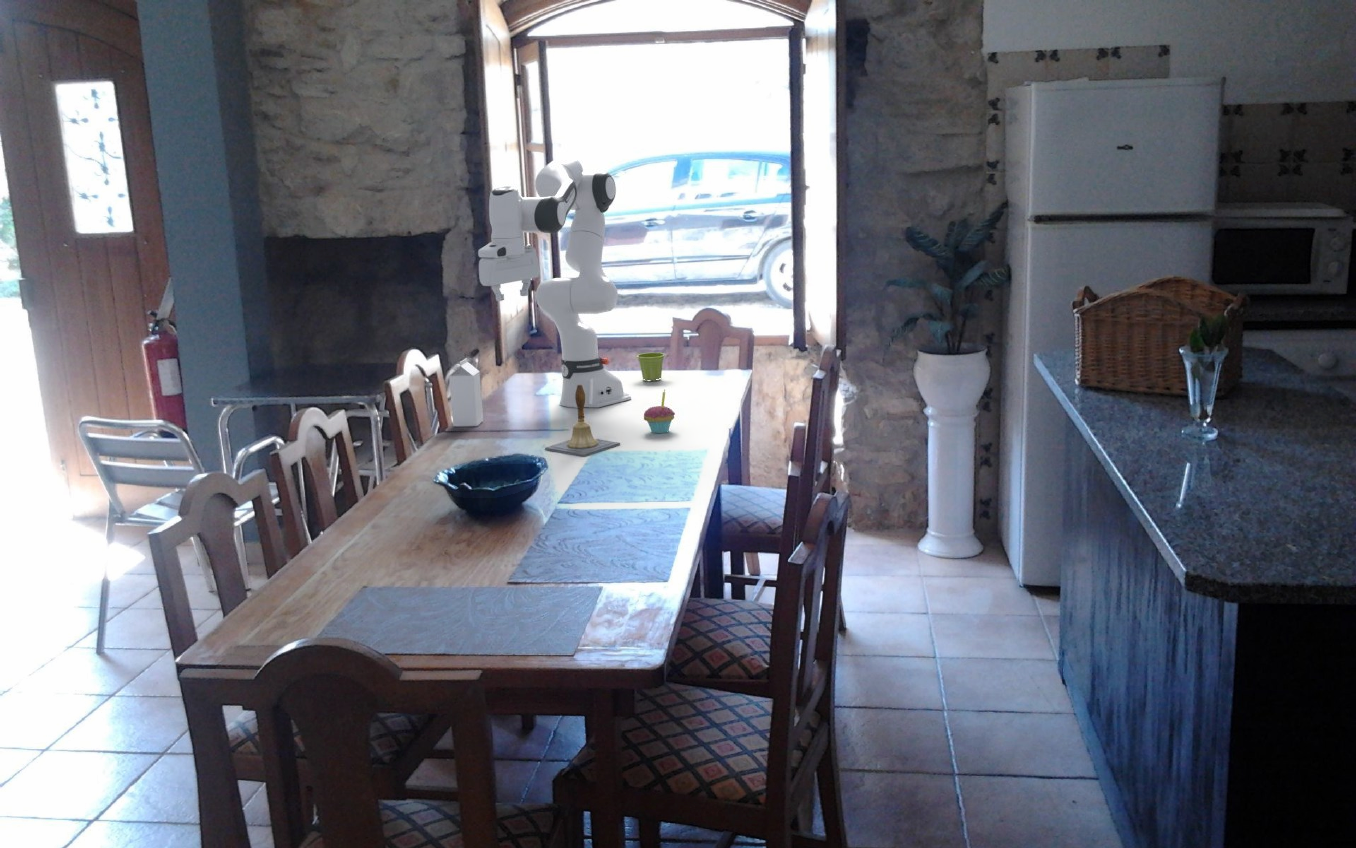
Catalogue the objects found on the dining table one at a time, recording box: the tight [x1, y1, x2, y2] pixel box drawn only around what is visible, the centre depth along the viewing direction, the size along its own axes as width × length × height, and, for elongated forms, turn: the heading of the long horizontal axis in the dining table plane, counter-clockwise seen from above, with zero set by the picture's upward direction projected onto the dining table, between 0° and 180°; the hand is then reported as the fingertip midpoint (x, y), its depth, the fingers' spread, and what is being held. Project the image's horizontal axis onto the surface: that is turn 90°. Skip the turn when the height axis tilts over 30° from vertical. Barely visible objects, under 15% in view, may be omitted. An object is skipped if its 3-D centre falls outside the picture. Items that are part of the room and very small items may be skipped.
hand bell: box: [567, 385, 598, 448], centre depth 305 cm, size 8×8×16 cm
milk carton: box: [448, 357, 484, 427], centre depth 337 cm, size 7×7×19 cm
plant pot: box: [636, 352, 665, 381], centre depth 394 cm, size 9×9×9 cm
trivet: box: [544, 438, 621, 458], centre depth 307 cm, size 14×14×1 cm
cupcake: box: [643, 389, 676, 434], centre depth 320 cm, size 9×8×12 cm
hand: (512, 298), depth 321 cm, fingers open, 8 cm apart
